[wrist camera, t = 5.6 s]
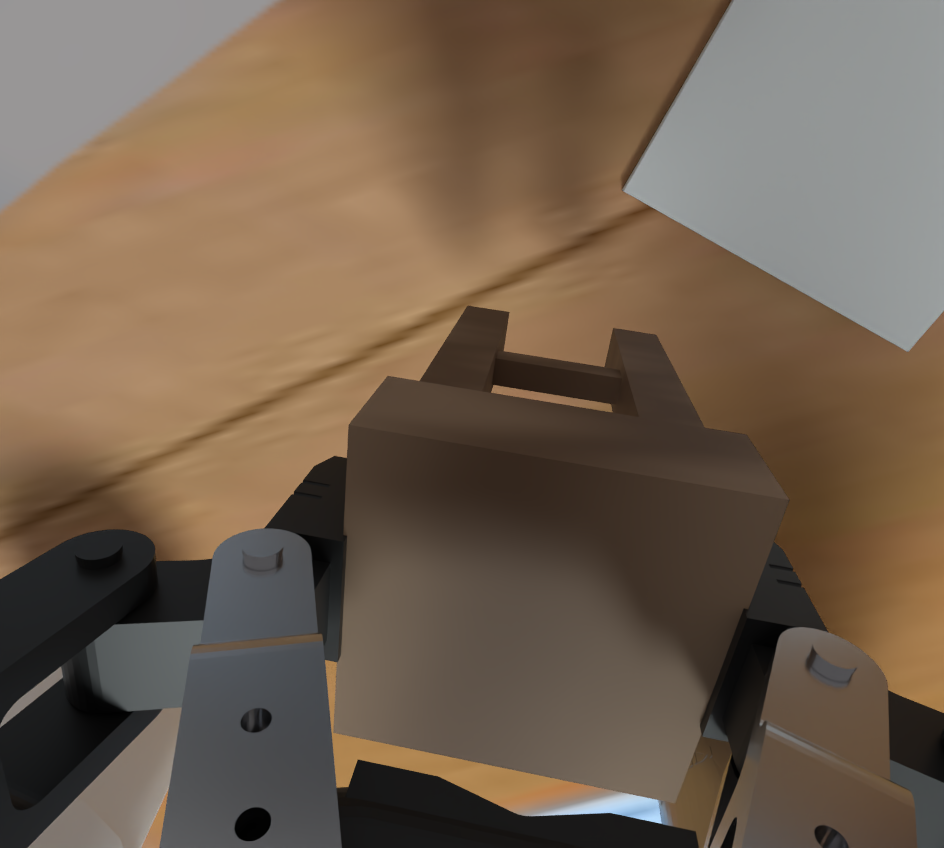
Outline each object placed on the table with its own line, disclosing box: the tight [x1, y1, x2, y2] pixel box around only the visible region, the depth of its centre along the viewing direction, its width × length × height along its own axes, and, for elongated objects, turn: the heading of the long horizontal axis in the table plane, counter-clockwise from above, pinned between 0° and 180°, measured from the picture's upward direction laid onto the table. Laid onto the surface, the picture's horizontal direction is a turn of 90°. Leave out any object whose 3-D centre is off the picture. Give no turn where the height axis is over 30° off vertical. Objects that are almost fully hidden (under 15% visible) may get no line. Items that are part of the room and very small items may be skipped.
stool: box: [334, 306, 789, 803], centre depth 13 cm, size 6×6×9 cm
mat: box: [622, 0, 944, 352], centre depth 20 cm, size 12×12×1 cm
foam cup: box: [0, 667, 182, 848], centre depth 29 cm, size 10×9×13 cm
